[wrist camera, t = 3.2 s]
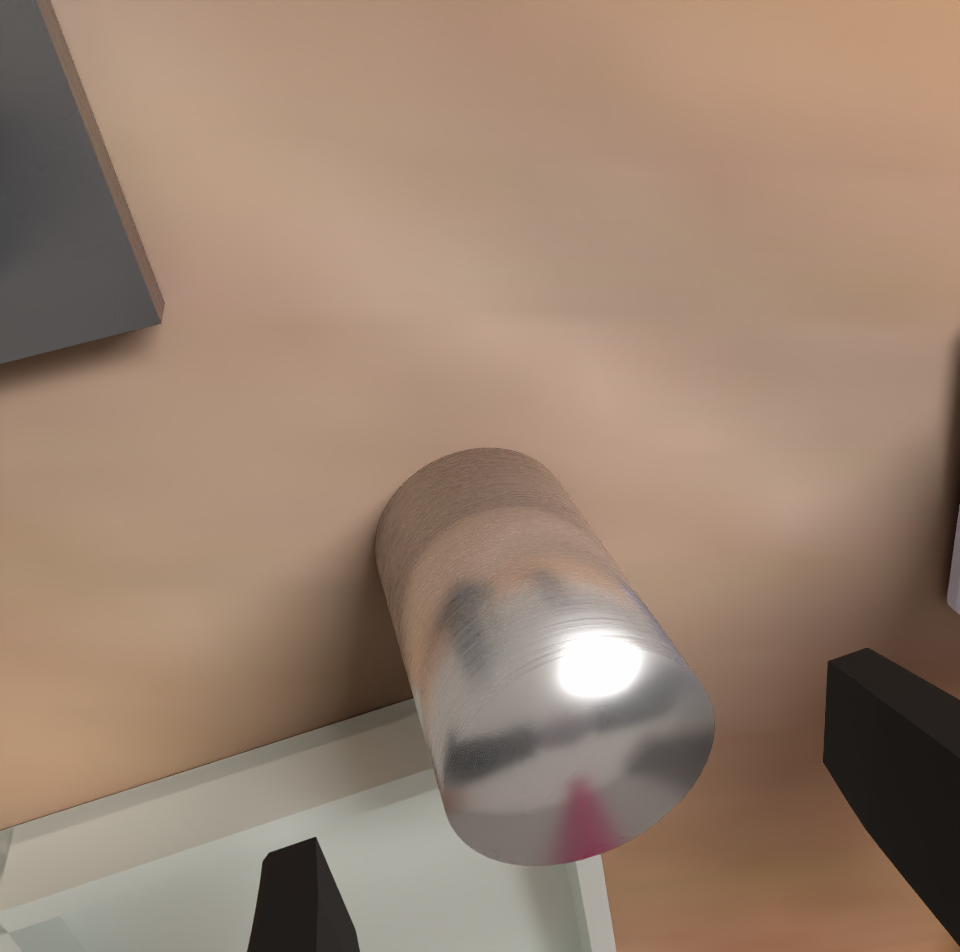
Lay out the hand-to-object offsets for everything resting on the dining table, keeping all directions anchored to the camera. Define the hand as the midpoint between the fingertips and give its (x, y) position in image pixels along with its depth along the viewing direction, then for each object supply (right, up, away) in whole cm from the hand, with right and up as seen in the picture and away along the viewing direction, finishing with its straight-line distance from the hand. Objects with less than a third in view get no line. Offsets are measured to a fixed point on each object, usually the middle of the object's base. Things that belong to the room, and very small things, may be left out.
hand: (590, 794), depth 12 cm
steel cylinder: (-2, +3, +6) cm, 7 cm away
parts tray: (-5, -6, +10) cm, 13 cm away
